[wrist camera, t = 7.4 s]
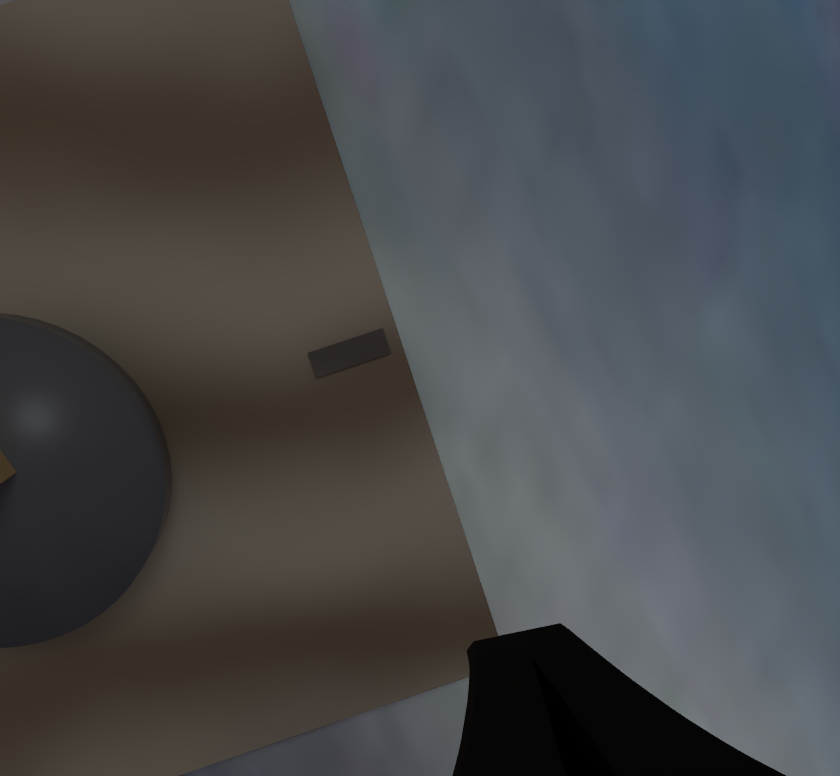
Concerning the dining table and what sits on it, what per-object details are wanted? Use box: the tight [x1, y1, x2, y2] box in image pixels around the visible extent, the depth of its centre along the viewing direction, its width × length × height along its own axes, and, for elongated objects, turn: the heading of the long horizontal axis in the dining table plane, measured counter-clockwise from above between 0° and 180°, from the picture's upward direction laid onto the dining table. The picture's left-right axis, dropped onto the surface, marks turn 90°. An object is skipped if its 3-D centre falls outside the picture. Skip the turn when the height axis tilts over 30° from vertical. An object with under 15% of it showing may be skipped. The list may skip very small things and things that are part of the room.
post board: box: [0, 0, 498, 776], centre depth 17 cm, size 18×18×2 cm
